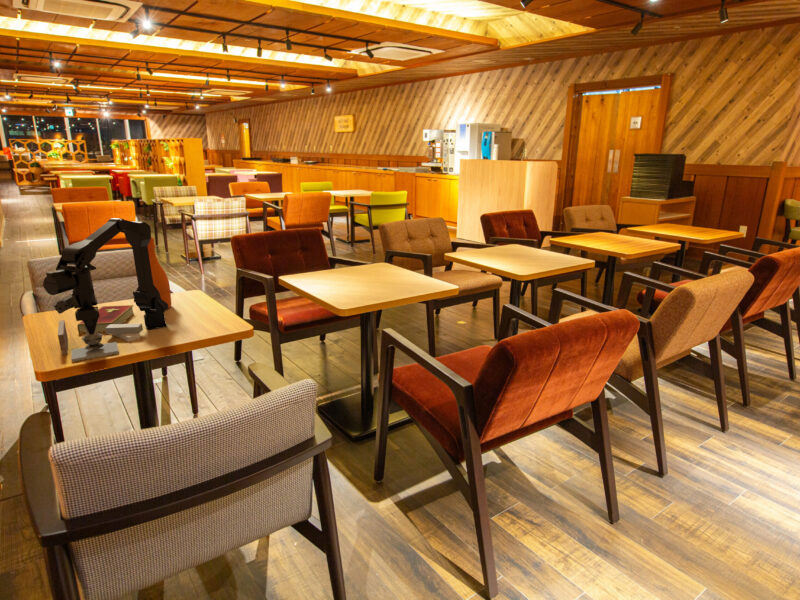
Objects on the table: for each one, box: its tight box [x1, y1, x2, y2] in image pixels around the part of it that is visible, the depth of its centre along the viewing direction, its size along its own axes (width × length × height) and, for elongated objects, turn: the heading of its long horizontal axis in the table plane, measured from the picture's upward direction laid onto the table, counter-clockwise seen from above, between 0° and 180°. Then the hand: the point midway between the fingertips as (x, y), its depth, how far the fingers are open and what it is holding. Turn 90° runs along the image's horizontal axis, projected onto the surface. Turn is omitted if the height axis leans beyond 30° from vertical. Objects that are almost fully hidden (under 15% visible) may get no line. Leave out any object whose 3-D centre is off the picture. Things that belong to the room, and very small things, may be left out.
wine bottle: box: [148, 236, 172, 309], centre depth 204 cm, size 10×10×30 cm
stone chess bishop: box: [81, 324, 104, 350], centre depth 161 cm, size 6×6×12 cm
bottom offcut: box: [111, 333, 141, 342], centre depth 177 cm, size 4×12×2 cm, turn 55°
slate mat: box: [70, 341, 120, 363], centre depth 163 cm, size 13×9×1 cm
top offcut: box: [105, 323, 144, 335], centre depth 176 cm, size 4×11×2 cm, turn 96°
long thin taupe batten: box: [57, 319, 69, 356], centre depth 167 cm, size 2×16×7 cm, turn 32°
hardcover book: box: [77, 304, 134, 334], centre depth 190 cm, size 12×21×4 cm, turn 8°
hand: (91, 332), depth 161 cm, fingers closed on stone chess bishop, 3 cm apart
